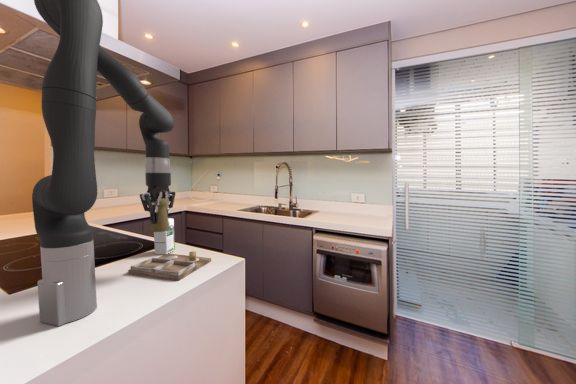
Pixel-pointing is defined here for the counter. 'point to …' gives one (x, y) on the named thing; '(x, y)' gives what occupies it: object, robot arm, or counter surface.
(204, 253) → the counter surface
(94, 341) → the counter surface
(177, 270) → the board
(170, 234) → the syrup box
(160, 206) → the cork
